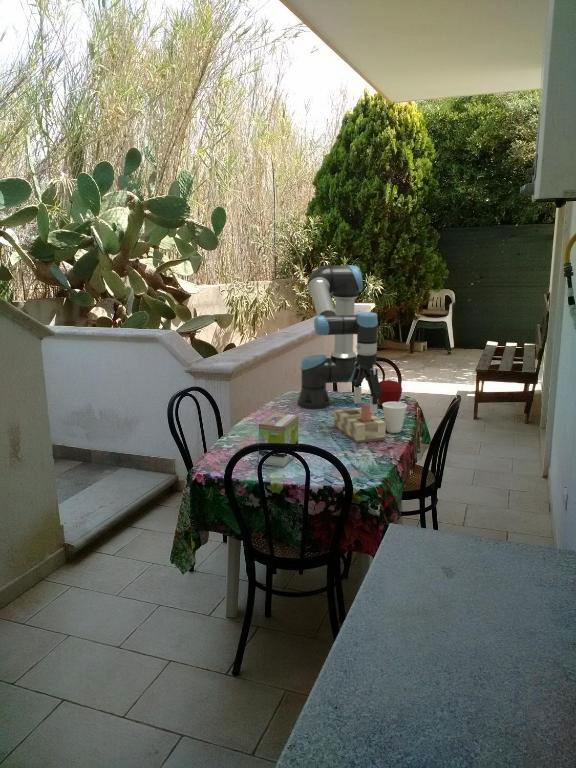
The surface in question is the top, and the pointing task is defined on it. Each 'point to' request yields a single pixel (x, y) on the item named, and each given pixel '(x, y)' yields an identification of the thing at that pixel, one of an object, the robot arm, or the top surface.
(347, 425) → the hole block
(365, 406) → the peg
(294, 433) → the tea box
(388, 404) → the cup
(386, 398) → the apple
